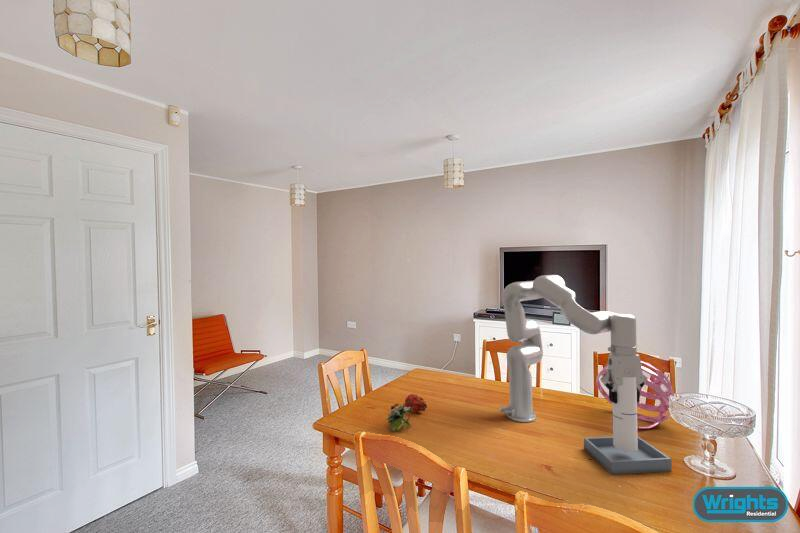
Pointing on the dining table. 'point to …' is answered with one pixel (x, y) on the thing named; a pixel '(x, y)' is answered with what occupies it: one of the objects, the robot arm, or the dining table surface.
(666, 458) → the tray
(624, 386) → the cylindrical container
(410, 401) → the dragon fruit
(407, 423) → the green leafy plant
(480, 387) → the dining table surface
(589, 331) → the robot arm
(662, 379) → the spiral basket
